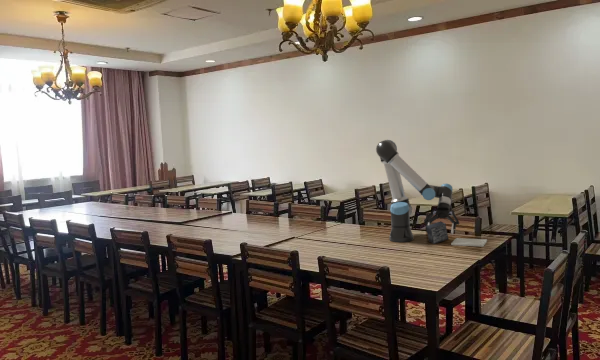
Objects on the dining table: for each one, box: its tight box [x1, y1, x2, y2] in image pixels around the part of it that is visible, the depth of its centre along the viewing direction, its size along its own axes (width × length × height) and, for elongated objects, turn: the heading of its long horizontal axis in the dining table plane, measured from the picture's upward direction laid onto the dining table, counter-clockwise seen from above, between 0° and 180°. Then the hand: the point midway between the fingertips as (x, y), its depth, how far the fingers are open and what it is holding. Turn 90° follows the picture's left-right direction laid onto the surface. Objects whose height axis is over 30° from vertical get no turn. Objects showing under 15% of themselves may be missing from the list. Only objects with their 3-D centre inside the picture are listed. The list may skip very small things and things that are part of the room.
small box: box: [425, 221, 449, 245], centre depth 290 cm, size 11×6×10 cm, turn 102°
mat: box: [450, 237, 488, 248], centre depth 283 cm, size 18×14×1 cm
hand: (439, 233), depth 289 cm, fingers open, 14 cm apart
